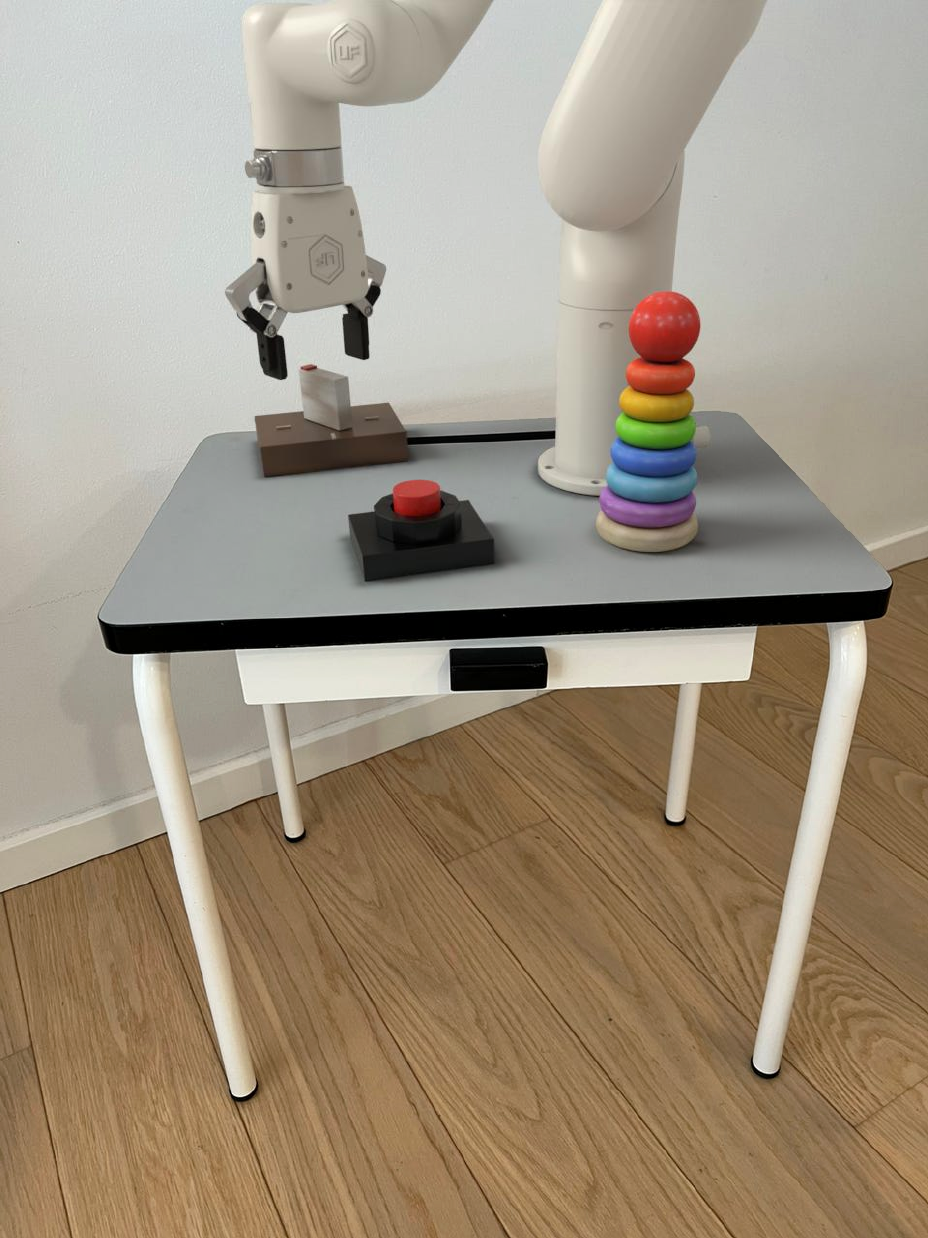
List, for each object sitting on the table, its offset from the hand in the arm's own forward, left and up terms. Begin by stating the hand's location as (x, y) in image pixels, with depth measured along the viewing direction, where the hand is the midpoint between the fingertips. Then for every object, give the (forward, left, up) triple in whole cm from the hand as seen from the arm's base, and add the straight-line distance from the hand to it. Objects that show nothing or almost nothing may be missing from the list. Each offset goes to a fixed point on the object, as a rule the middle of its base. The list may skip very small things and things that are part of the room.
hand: (317, 366), depth 91 cm
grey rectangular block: (0, 0, -6) cm, 6 cm away
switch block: (-4, +26, -9) cm, 28 cm away
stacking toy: (-22, +28, -9) cm, 37 cm away
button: (-4, +26, -5) cm, 27 cm away
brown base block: (0, 0, -9) cm, 9 cm away
